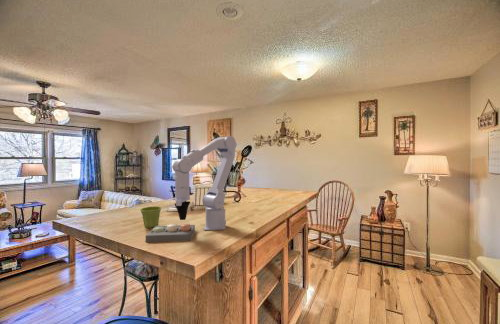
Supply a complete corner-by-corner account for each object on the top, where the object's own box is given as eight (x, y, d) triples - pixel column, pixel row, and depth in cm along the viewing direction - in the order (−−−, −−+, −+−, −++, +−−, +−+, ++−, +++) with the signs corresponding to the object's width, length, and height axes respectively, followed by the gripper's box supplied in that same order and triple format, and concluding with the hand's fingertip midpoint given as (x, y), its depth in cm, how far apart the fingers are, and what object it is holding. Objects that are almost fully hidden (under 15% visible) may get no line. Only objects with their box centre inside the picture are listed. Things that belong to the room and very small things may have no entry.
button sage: (164, 233, 96) (164, 226, 96) (161, 236, 92) (161, 229, 92) (155, 233, 96) (155, 226, 96) (151, 237, 92) (151, 229, 92)
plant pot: (154, 230, 103) (153, 211, 103) (135, 228, 105) (135, 210, 105) (165, 224, 112) (165, 206, 112) (148, 223, 114) (148, 206, 114)
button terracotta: (191, 230, 97) (190, 223, 97) (189, 233, 93) (189, 226, 93) (181, 230, 97) (181, 223, 97) (179, 233, 93) (179, 226, 93)
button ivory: (177, 230, 97) (177, 223, 97) (175, 233, 93) (175, 226, 93) (168, 231, 97) (168, 224, 96) (165, 234, 93) (165, 226, 92)
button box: (194, 230, 101) (194, 224, 101) (190, 240, 89) (189, 233, 89) (155, 232, 100) (155, 225, 100) (145, 242, 88) (145, 234, 88)
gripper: (176, 185, 102) (177, 215, 102) (167, 189, 87) (168, 224, 88) (192, 185, 102) (193, 214, 103) (186, 189, 88) (186, 224, 88)
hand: (182, 219), depth 95 cm, fingers closed
